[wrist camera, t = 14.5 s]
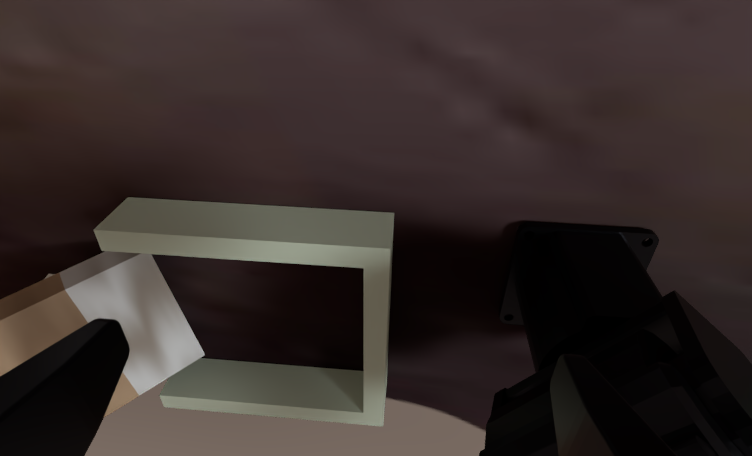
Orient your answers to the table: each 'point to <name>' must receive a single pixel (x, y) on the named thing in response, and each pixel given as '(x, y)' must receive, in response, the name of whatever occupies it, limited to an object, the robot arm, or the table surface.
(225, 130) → the table surface
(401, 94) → the table surface
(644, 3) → the table surface
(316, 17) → the table surface
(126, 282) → the two-tone wooden slab
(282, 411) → the green c-shaped bracket
